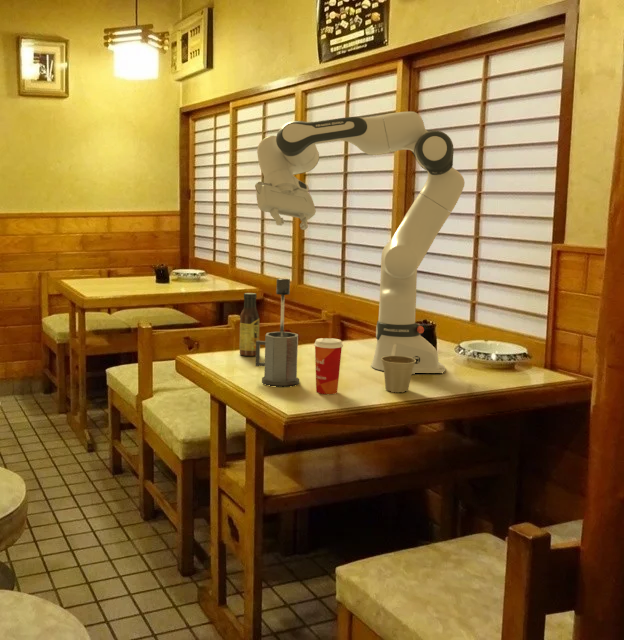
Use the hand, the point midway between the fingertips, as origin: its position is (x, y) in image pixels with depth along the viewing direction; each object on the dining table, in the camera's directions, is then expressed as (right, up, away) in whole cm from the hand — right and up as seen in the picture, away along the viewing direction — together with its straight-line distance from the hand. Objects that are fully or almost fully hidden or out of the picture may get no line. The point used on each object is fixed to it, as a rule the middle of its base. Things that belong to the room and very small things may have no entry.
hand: (292, 226), depth 230 cm
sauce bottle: (-15, -39, +23) cm, 47 cm away
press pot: (-3, -45, -12) cm, 46 cm away
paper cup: (+10, -47, -20) cm, 52 cm away
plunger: (-3, -34, -14) cm, 36 cm away
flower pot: (+29, -47, -16) cm, 57 cm away
